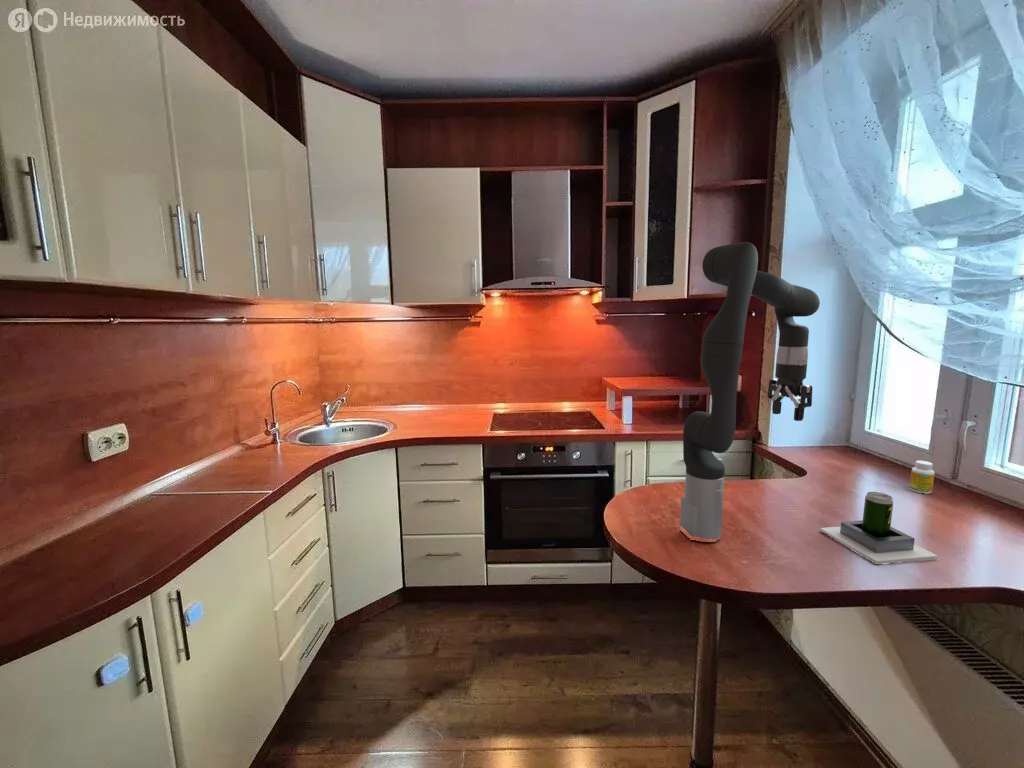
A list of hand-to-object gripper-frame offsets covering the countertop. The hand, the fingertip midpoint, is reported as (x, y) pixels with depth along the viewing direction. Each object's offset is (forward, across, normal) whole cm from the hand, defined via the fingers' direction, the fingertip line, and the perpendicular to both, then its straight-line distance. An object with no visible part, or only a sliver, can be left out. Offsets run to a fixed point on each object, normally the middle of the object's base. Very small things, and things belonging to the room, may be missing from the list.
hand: (787, 417), depth 126 cm
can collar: (+28, +23, +8) cm, 37 cm away
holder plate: (+28, +23, +8) cm, 37 cm away
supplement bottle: (+28, -4, +53) cm, 60 cm away
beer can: (+27, +23, +8) cm, 36 cm away
